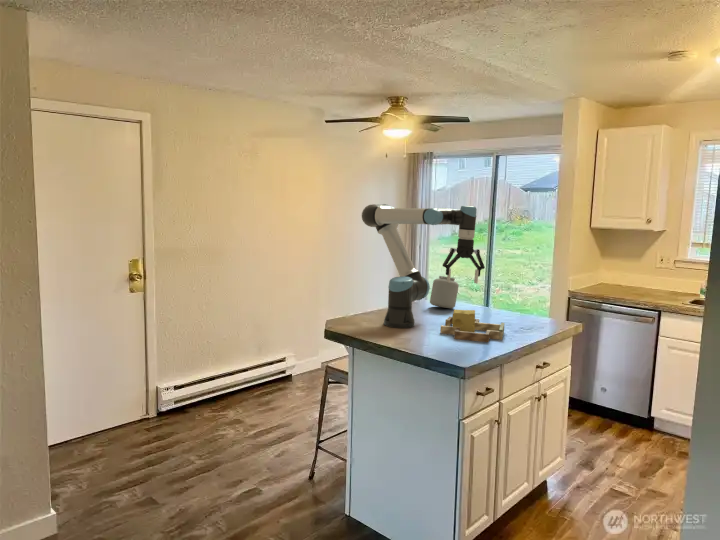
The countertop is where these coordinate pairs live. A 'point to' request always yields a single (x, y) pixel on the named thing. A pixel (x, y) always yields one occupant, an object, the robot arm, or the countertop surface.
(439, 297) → the jar
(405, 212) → the robot arm
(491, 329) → the trap lane
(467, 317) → the cheese
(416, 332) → the countertop surface
